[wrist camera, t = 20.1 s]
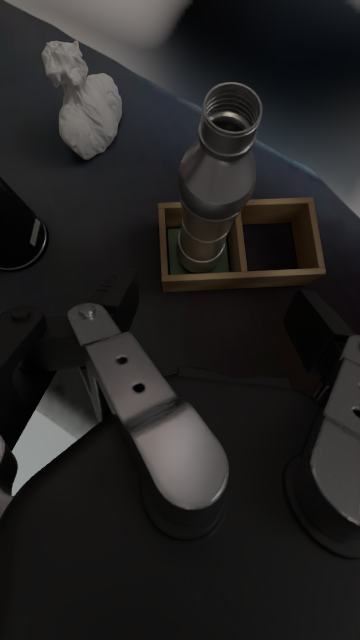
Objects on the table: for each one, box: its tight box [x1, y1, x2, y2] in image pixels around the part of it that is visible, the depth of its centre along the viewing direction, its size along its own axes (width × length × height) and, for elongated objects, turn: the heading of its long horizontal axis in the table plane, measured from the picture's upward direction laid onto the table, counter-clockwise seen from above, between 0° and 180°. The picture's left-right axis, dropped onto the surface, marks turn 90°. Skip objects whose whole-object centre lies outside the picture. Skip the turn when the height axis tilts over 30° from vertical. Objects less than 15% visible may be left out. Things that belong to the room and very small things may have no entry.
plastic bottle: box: [176, 82, 262, 273], centre depth 24 cm, size 6×7×20 cm
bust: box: [42, 41, 122, 160], centre depth 32 cm, size 12×8×11 cm
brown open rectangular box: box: [158, 198, 326, 292], centre depth 32 cm, size 20×11×4 cm, turn 93°
